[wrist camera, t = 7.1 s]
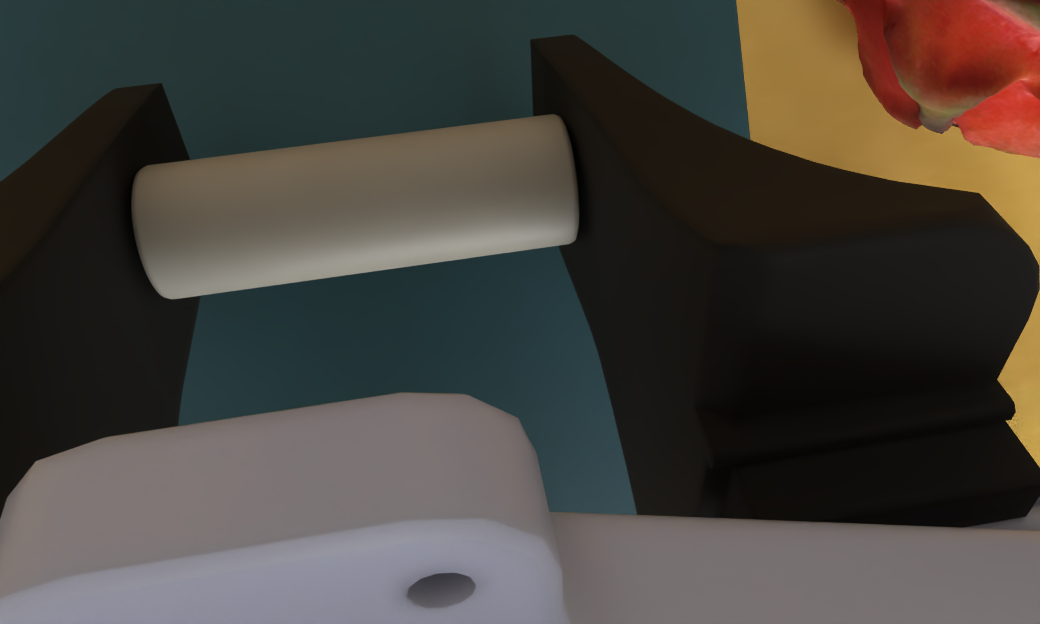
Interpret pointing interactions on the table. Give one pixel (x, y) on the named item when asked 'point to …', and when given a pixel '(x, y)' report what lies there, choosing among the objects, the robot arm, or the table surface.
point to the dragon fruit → (956, 66)
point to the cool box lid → (371, 193)
